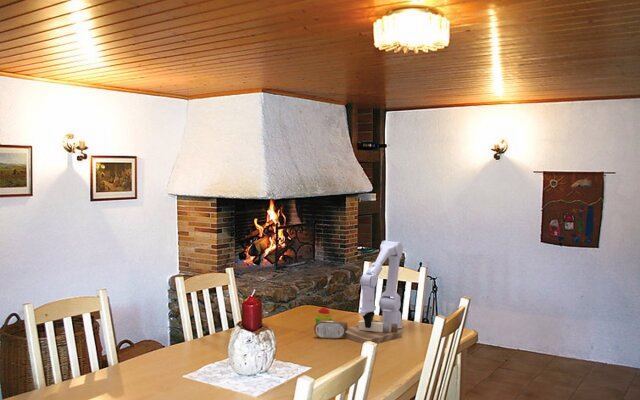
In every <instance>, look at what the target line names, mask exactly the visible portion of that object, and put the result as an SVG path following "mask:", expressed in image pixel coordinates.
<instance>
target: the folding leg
mask: <svg viewBox="0 0 640 400" xmlns="http://www.w3.org/2000/svg"><path fill="white" fill-rule="evenodd" d="M381 322H382V321H379V322H371V327H370V328H366V327H365V321H364V320H363V319H362V320H359V321H358V325H359V330H366V331H375V332H383V333H389V323H381Z"/></svg>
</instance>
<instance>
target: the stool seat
mask: <svg viewBox="0 0 640 400" xmlns="http://www.w3.org/2000/svg"><path fill="white" fill-rule="evenodd" d="M341 322H342V323H344V325H345V327H346V332H345V334H344V336H343V337H342V338H345V339H348V340H351V341H354V342H357V343H360V344H363V343H364V342H365V341H372V342H375V343H377V344H381V343H384V342H388V341H391V340H396V339H399V338H402V337H403V335H402V334H403V332H402V331H400V330H399V329H398V324H391V329H390V328H389V333H383V332H375V331H366V330H359V324H357V325H353V326H348V322H347V321H341ZM372 322H381V323H383V322H382V321H379V320H374V318H373V319H372ZM363 345H364V344H363Z"/></svg>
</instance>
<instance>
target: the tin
mask: <svg viewBox="0 0 640 400" xmlns="http://www.w3.org/2000/svg"><path fill="white" fill-rule="evenodd" d="M342 322H343V321H340V320H320V321H318V322H317V323H316V322H315V325H314V329H313V330H314V334H315V335H316V337H318V338H320V339H331V340H332V339H333V340H336V339H337V340H340V339H342V338H344V337H343V336H344V334H345V332H346V327H345V325H344V323H342Z"/></svg>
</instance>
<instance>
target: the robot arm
mask: <svg viewBox="0 0 640 400" xmlns="http://www.w3.org/2000/svg"><path fill="white" fill-rule="evenodd" d="M380 243H381V244H380V246H379V253H378V256H377V258H376V260H375V261H374V262H372V263H371V264H370V266H369V267H368V269H367V271H366V272H365V273H364V274H362V275H361V277H360V280H359V284H360V286H361V287H360V288H361V291H362V293H361V294H362V295H361V296H362V299H361V301H362V303H361V305H362V307H360V308H359V309H360V312H359V316H362V318H363V321H365V327H366V328H370V327H371V322H372V319H373V320H374V316H375V311H376V310H377V306H376V305H375V289H376V288H375V287H376V286H377V284H378V280H379V275H380V274H381V273H382V270H383V265H384V263H385V262H386V260H387V259H389V262H388V269H387V277H386V278H387V279H386V286H385V291H383V292H382V293H381V294H380V298H379V300H378V307H379V308H380V310H381V311H382V321H381V322H383V323H389V328H390V329H391V324H398V330H399V329H401V328H402V329H403V326H402V313H401V311H400V308H401V305H402V304H401V303H402V302H401V295H400V294H398V292H397V285H398V278H399V270H400V269H399V268H400V261H401V259H402V257H403V250H404V246H403V244H402V242H401V241H392V240H390V241H389V240H382V241H381V242H380Z"/></svg>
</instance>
